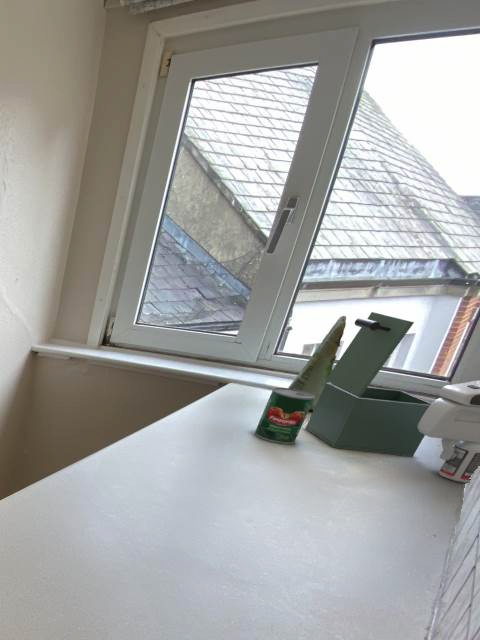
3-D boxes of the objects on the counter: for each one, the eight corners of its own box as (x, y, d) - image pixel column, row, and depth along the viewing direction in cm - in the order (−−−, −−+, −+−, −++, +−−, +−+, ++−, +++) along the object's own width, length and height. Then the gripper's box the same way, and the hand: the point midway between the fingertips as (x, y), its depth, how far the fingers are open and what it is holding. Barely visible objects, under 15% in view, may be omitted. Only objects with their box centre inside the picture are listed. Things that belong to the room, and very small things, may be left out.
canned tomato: (264, 441, 126) (284, 396, 121) (247, 429, 133) (265, 386, 128) (302, 445, 125) (323, 399, 120) (283, 433, 132) (303, 389, 127)
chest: (376, 437, 133) (401, 390, 128) (412, 457, 122) (441, 406, 117) (304, 428, 136) (326, 382, 131) (333, 447, 125) (357, 398, 120)
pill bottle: (473, 478, 112) (501, 434, 108) (475, 486, 109) (504, 441, 105) (437, 470, 116) (463, 426, 111) (437, 477, 112) (464, 432, 108)
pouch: (302, 401, 158) (342, 312, 147) (339, 415, 147) (384, 320, 136) (267, 400, 157) (304, 310, 146) (300, 414, 147) (343, 318, 135)
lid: (375, 312, 123) (353, 307, 123) (414, 322, 112) (389, 316, 112) (328, 381, 130) (307, 375, 131) (360, 396, 119) (338, 390, 120)
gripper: (556, 398, 105) (513, 462, 112) (432, 385, 109) (397, 449, 115) (588, 408, 100) (541, 475, 106) (456, 394, 104) (418, 461, 110)
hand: (465, 461), depth 111 cm, fingers closed on pill bottle, 5 cm apart
